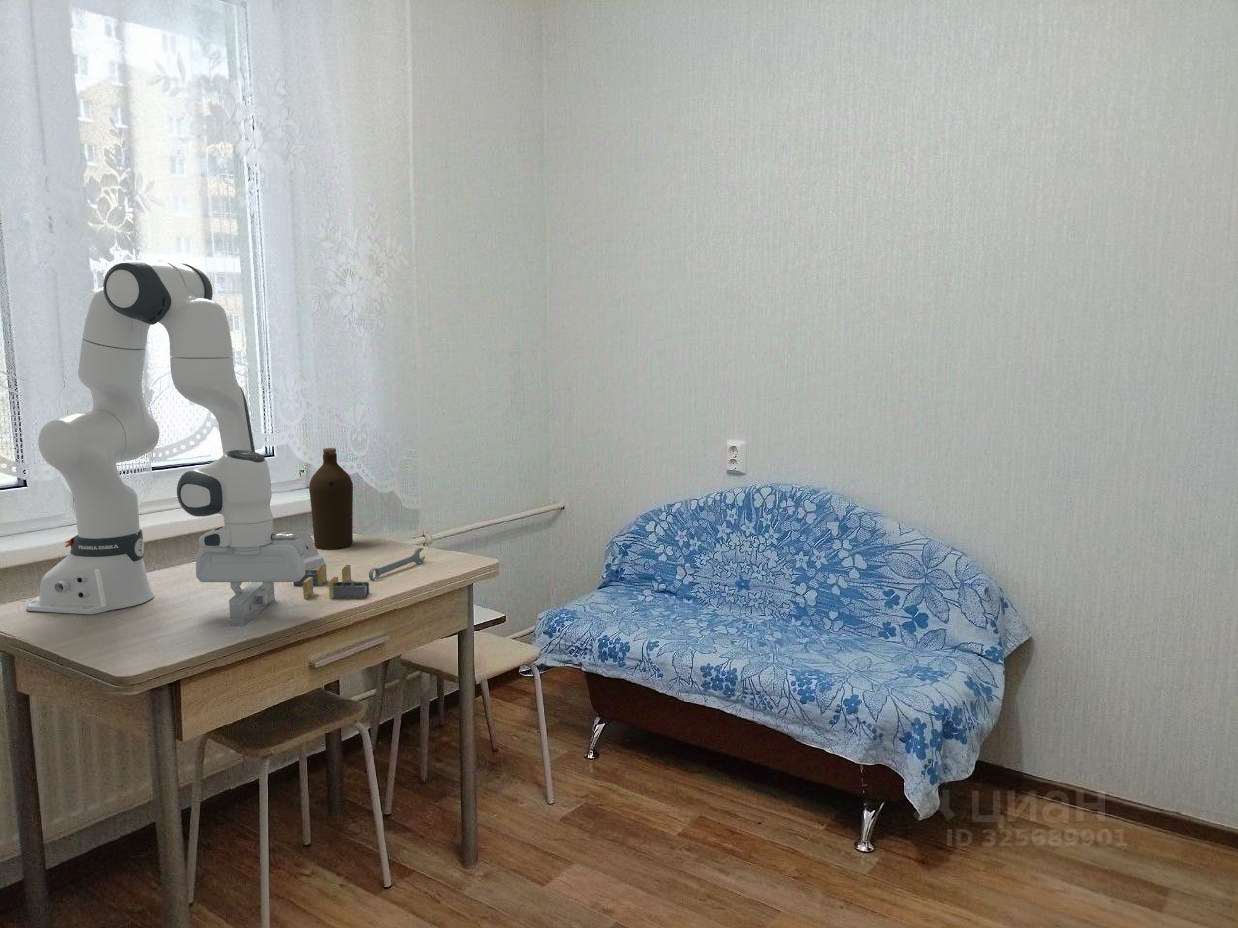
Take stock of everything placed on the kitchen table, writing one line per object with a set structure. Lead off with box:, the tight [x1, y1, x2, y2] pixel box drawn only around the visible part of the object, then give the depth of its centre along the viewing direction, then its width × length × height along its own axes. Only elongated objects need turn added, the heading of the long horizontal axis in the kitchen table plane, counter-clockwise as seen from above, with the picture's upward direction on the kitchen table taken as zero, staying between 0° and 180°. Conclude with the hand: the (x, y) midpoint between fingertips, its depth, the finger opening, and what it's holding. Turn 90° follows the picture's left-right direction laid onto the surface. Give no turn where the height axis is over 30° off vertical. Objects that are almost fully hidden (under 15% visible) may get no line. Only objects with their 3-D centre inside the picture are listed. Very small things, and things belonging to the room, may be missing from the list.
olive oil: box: [308, 447, 354, 550], centre depth 240 cm, size 11×11×25 cm
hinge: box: [278, 530, 326, 570], centre depth 216 cm, size 17×5×10 cm, turn 153°
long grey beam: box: [228, 582, 276, 627], centre depth 185 cm, size 3×17×5 cm, turn 1°
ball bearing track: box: [293, 564, 370, 599], centre depth 201 cm, size 18×14×4 cm
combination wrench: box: [368, 547, 426, 581], centre depth 217 cm, size 4×1×20 cm
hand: (253, 603), depth 185 cm, fingers closed on long grey beam, 2 cm apart
